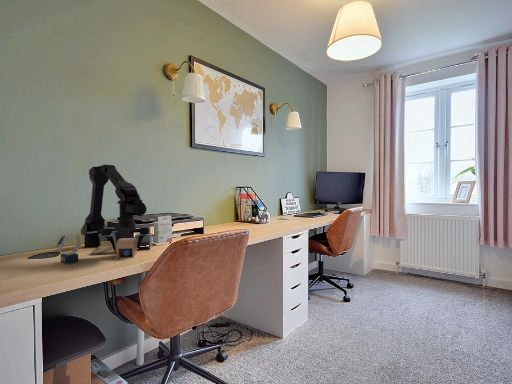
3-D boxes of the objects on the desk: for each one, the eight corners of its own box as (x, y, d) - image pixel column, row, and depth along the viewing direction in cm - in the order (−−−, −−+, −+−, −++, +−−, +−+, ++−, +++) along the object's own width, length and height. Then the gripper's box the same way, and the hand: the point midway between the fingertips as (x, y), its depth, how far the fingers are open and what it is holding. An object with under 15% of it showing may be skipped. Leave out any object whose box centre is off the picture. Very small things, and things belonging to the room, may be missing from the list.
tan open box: (116, 258, 120) (116, 241, 120) (120, 254, 126) (120, 238, 126) (133, 257, 122) (133, 240, 121) (136, 253, 128) (136, 237, 128)
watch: (54, 262, 112) (54, 234, 112) (77, 258, 118) (77, 232, 118) (59, 265, 108) (59, 236, 108) (83, 261, 114) (83, 233, 114)
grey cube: (135, 250, 135) (135, 235, 135) (137, 247, 141) (137, 233, 141) (150, 249, 136) (150, 234, 136) (151, 246, 143) (151, 232, 143)
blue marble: (122, 256, 122) (122, 249, 122) (123, 255, 125) (123, 247, 125) (130, 256, 123) (130, 248, 123) (131, 254, 126) (131, 247, 126)
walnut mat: (90, 255, 124) (90, 252, 124) (97, 249, 135) (97, 247, 135) (117, 253, 127) (117, 251, 127) (122, 248, 138) (122, 246, 138)
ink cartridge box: (166, 242, 155) (166, 214, 155) (172, 243, 152) (172, 215, 152) (152, 244, 148) (152, 216, 148) (158, 245, 145) (157, 216, 145)
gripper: (97, 217, 114) (97, 256, 114) (147, 216, 118) (147, 253, 118) (104, 214, 124) (105, 250, 125) (150, 213, 129) (150, 248, 129)
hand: (126, 250), depth 124 cm, fingers open, 9 cm apart
